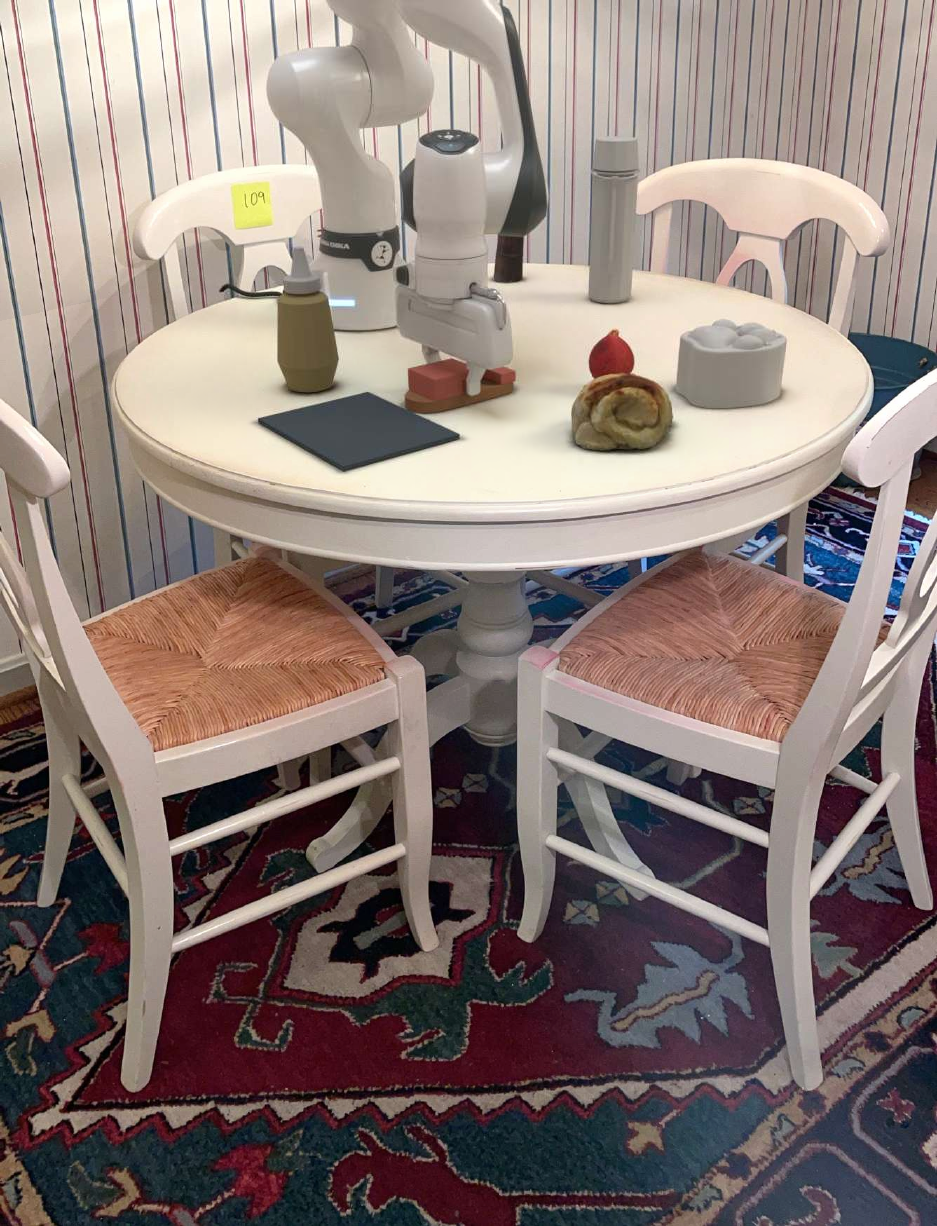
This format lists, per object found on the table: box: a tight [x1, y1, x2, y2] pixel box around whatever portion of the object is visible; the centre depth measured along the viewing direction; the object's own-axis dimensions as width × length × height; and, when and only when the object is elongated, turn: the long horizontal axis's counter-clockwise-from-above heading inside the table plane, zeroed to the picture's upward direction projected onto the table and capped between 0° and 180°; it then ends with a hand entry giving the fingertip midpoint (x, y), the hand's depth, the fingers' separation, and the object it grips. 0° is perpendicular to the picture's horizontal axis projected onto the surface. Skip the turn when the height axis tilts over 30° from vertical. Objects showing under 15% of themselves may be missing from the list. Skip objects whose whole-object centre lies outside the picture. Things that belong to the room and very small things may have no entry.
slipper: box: [404, 357, 517, 414], centre depth 143 cm, size 16×6×4 cm, turn 127°
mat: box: [257, 391, 461, 472], centre depth 133 cm, size 20×16×1 cm
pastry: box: [570, 372, 674, 451], centre depth 129 cm, size 14×12×8 cm
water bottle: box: [587, 135, 642, 305], centre depth 180 cm, size 9×8×25 cm
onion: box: [588, 328, 636, 380], centre depth 144 cm, size 6×6×8 cm
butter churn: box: [493, 235, 525, 283], centre depth 192 cm, size 9×10×28 cm
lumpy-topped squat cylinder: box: [675, 318, 788, 409], centre depth 141 cm, size 10×13×9 cm
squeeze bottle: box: [276, 246, 340, 393], centre depth 144 cm, size 8×8×18 cm
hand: (453, 386), depth 142 cm, fingers closed on slipper, 6 cm apart
